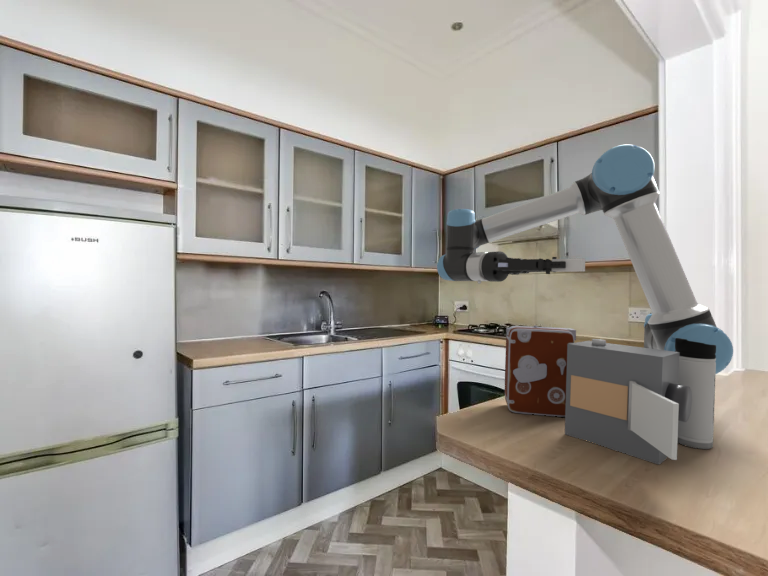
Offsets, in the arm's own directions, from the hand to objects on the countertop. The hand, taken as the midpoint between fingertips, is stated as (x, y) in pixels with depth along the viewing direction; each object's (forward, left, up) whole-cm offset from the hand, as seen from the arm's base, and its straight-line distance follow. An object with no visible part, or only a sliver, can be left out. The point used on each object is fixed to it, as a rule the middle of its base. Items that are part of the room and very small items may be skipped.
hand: (583, 264), depth 81 cm
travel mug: (-17, +9, -34) cm, 39 cm away
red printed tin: (+1, -10, -34) cm, 36 cm away
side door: (+1, +20, -29) cm, 35 cm away
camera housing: (-3, +9, -34) cm, 35 cm away
